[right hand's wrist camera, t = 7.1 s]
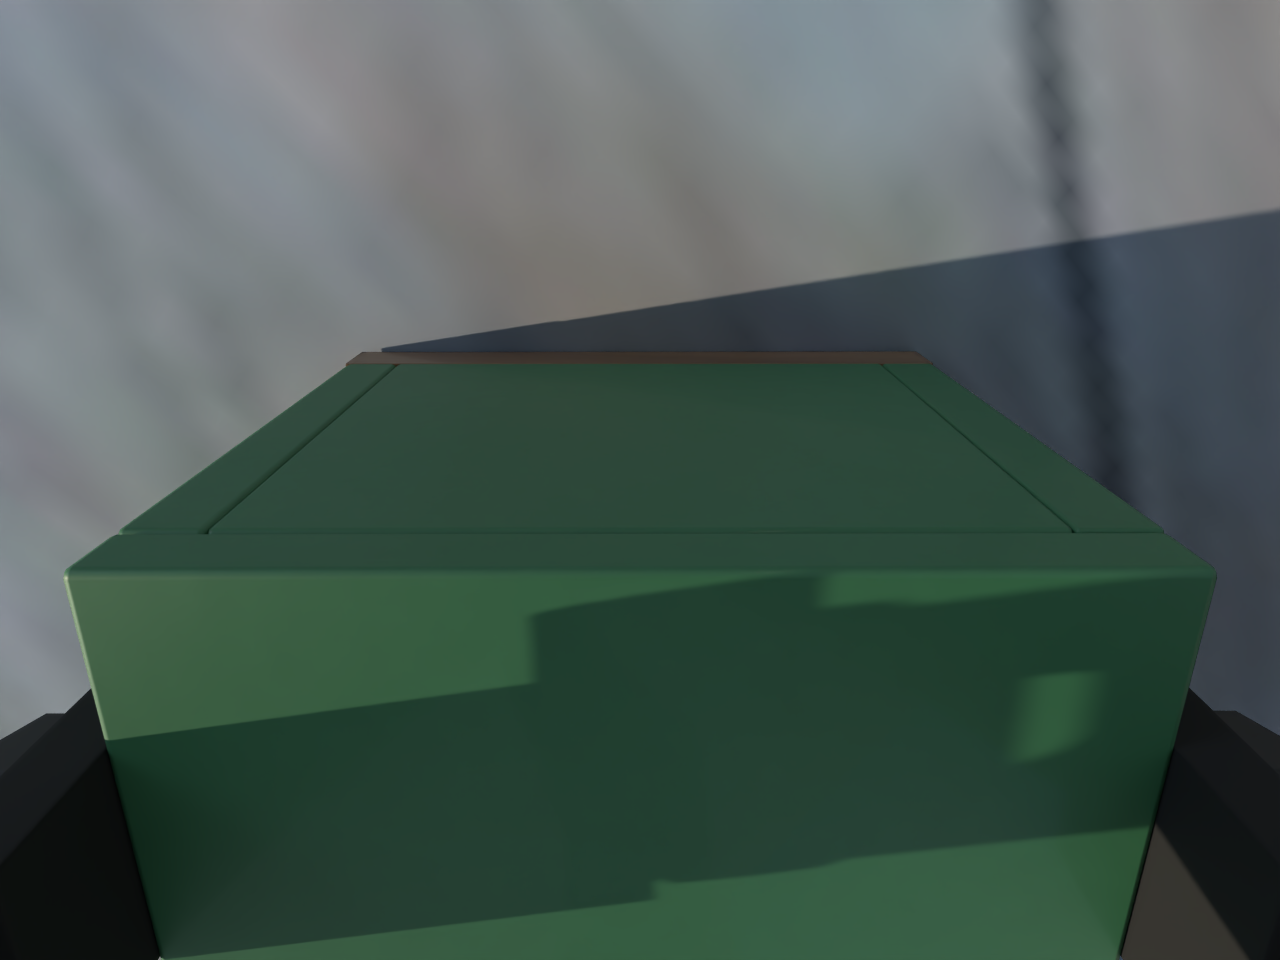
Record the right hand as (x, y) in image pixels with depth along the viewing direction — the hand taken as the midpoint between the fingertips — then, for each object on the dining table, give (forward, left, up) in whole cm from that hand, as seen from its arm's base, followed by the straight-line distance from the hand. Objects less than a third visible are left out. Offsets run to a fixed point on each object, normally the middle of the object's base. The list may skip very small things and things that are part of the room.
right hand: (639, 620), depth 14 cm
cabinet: (+4, +4, -4) cm, 7 cm away
